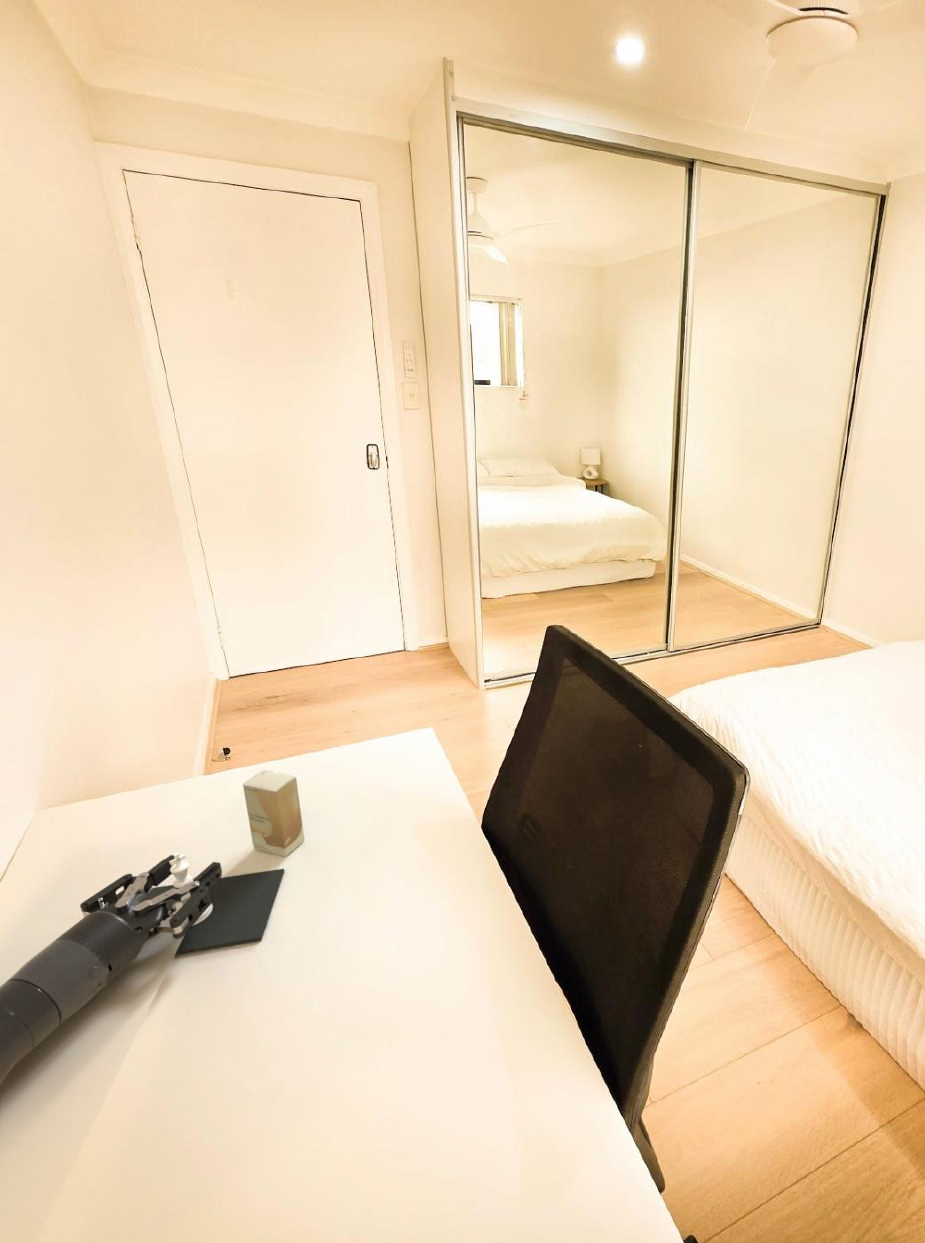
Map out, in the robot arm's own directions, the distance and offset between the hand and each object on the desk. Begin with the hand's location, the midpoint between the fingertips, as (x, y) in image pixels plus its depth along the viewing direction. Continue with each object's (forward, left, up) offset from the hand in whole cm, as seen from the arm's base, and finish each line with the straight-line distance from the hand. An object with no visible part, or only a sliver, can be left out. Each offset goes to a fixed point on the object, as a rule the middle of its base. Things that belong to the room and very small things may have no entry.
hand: (197, 864), depth 83 cm
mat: (-1, -2, -7) cm, 7 cm away
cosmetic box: (+7, +11, -7) cm, 15 cm away
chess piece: (-1, -2, -6) cm, 7 cm away
